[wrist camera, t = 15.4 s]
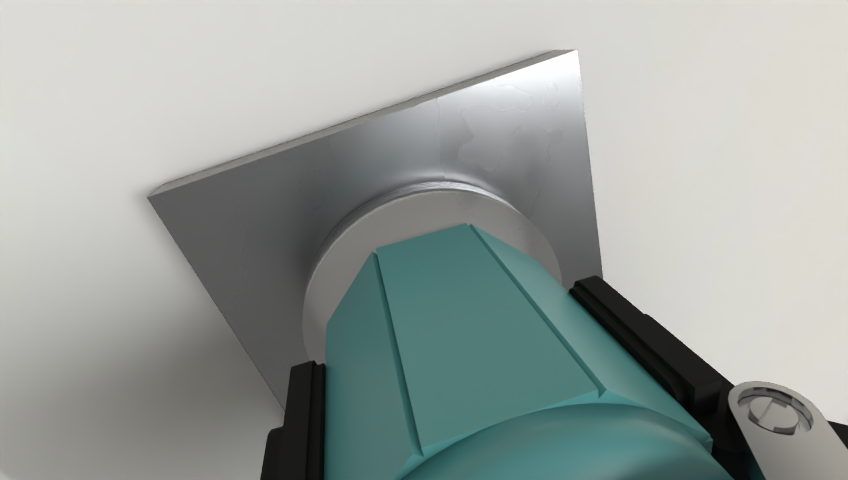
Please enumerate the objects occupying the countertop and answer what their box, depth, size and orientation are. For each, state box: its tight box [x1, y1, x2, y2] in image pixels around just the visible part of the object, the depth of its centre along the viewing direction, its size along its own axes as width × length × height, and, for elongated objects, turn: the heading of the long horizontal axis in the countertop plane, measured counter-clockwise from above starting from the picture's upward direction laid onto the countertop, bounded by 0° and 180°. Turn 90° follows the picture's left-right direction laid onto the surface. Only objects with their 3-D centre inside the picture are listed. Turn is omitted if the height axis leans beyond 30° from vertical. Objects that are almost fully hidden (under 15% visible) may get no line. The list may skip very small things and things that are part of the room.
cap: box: [324, 223, 734, 480], centre depth 9 cm, size 6×6×7 cm
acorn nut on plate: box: [147, 50, 603, 411], centre depth 11 cm, size 12×12×8 cm
